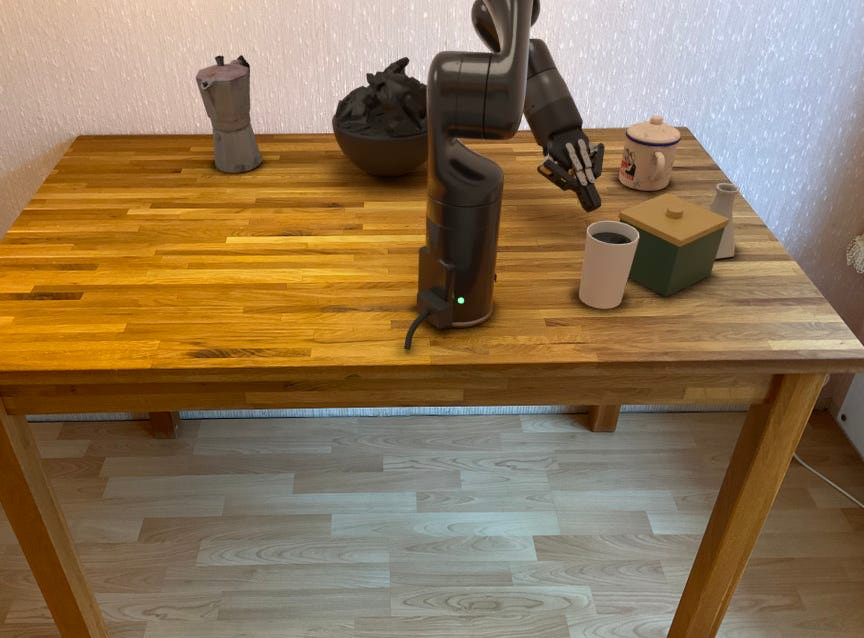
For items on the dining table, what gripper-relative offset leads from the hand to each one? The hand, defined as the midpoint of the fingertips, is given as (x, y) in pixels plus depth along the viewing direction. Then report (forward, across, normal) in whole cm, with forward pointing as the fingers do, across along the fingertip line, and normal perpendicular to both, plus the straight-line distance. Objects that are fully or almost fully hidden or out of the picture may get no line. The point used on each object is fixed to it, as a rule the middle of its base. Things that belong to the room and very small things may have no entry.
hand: (594, 209), depth 113 cm
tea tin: (+13, 0, -6) cm, 14 cm away
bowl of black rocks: (-24, -12, +31) cm, 41 cm away
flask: (+13, +12, -6) cm, 19 cm away
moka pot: (-38, -33, +45) cm, 67 cm away
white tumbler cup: (+13, -12, -6) cm, 19 cm away
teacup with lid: (-2, +22, +9) cm, 24 cm away
